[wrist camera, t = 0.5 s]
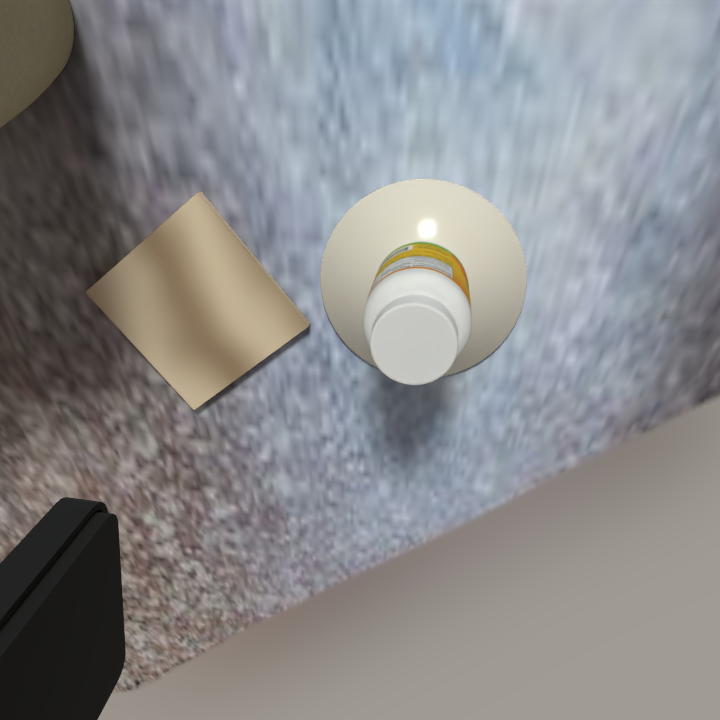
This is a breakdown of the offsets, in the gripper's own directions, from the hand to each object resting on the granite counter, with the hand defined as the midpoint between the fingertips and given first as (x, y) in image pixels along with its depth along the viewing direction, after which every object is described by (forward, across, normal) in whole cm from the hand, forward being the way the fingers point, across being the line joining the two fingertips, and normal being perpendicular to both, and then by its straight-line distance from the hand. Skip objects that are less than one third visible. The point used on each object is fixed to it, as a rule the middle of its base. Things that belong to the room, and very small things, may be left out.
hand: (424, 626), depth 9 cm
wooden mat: (+30, +13, +6) cm, 34 cm away
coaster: (+30, 0, +3) cm, 30 cm away
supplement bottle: (+30, 0, +3) cm, 30 cm away
